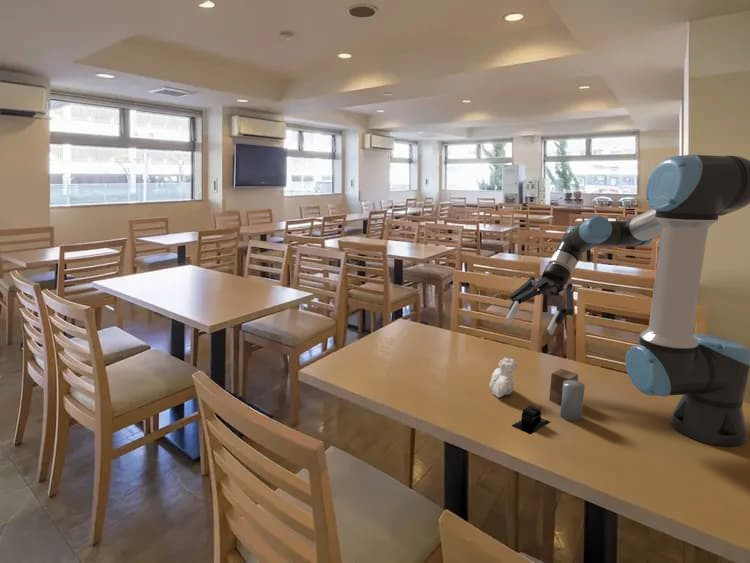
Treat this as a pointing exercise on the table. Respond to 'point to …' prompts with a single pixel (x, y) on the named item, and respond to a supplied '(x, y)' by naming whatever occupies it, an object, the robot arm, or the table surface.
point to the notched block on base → (531, 420)
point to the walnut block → (560, 384)
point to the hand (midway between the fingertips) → (528, 326)
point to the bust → (503, 378)
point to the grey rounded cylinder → (572, 400)
